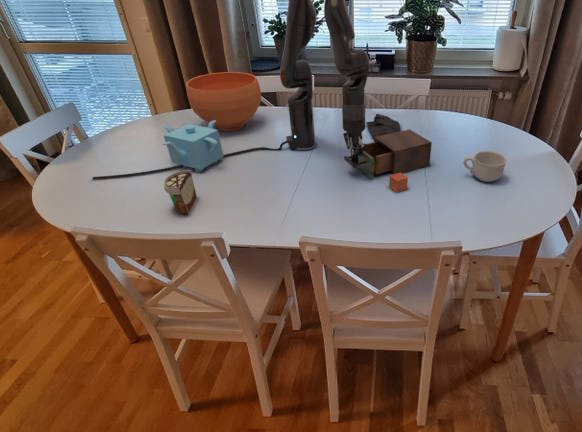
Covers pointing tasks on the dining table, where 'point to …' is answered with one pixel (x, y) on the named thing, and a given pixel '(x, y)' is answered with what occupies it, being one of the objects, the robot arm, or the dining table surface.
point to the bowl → (224, 98)
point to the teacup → (487, 165)
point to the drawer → (373, 159)
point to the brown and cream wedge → (181, 191)
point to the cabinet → (406, 150)
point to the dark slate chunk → (383, 126)
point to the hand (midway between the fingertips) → (354, 163)
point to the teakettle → (194, 145)
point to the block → (398, 182)
